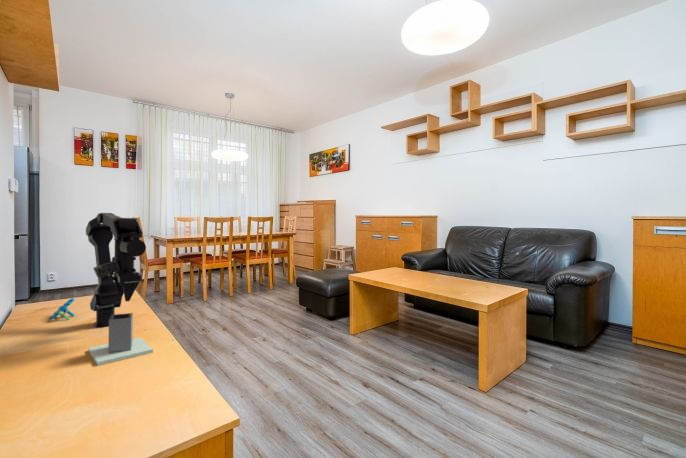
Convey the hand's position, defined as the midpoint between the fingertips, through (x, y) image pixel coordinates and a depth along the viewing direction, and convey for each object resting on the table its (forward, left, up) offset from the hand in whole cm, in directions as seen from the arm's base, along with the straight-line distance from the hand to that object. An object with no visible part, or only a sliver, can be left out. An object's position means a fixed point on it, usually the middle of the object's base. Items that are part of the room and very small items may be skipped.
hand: (123, 298), depth 115 cm
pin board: (+15, -4, -13) cm, 20 cm away
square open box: (+15, -4, -12) cm, 20 cm away
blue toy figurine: (-38, -13, -13) cm, 42 cm away
